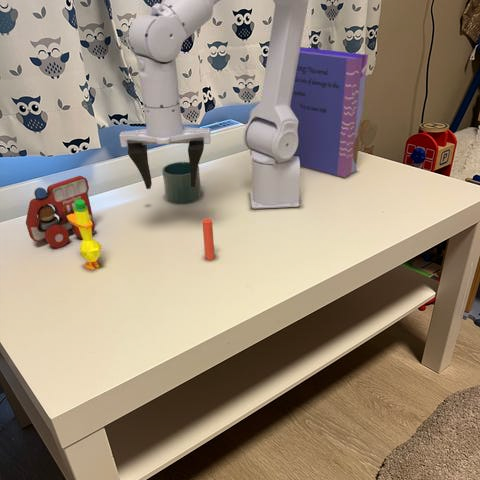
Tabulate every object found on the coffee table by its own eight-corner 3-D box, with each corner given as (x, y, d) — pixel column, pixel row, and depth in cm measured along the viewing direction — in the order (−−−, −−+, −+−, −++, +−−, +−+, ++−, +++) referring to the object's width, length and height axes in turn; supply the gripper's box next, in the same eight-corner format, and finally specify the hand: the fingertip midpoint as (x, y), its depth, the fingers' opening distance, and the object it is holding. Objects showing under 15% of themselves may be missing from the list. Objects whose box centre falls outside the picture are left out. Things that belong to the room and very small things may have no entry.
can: (201, 188, 113) (199, 161, 109) (200, 202, 107) (198, 174, 104) (167, 189, 113) (164, 162, 109) (164, 204, 107) (160, 176, 104)
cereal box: (355, 171, 118) (368, 53, 103) (344, 178, 115) (355, 58, 100) (292, 155, 127) (296, 45, 112) (281, 161, 124) (282, 49, 110)
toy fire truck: (26, 241, 96) (9, 187, 90) (87, 220, 103) (75, 168, 96) (41, 255, 92) (24, 200, 86) (104, 232, 98) (93, 179, 92)
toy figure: (71, 263, 89) (54, 198, 82) (88, 255, 91) (73, 190, 84) (95, 277, 86) (79, 209, 78) (112, 268, 88) (98, 201, 81)
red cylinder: (214, 255, 90) (212, 218, 86) (214, 260, 89) (211, 222, 85) (205, 255, 90) (202, 218, 86) (205, 260, 89) (202, 222, 85)
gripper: (110, 112, 79) (125, 196, 87) (206, 108, 79) (212, 193, 87) (118, 99, 85) (131, 180, 93) (208, 96, 84) (213, 177, 93)
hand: (171, 185), depth 90 cm, fingers open, 7 cm apart
